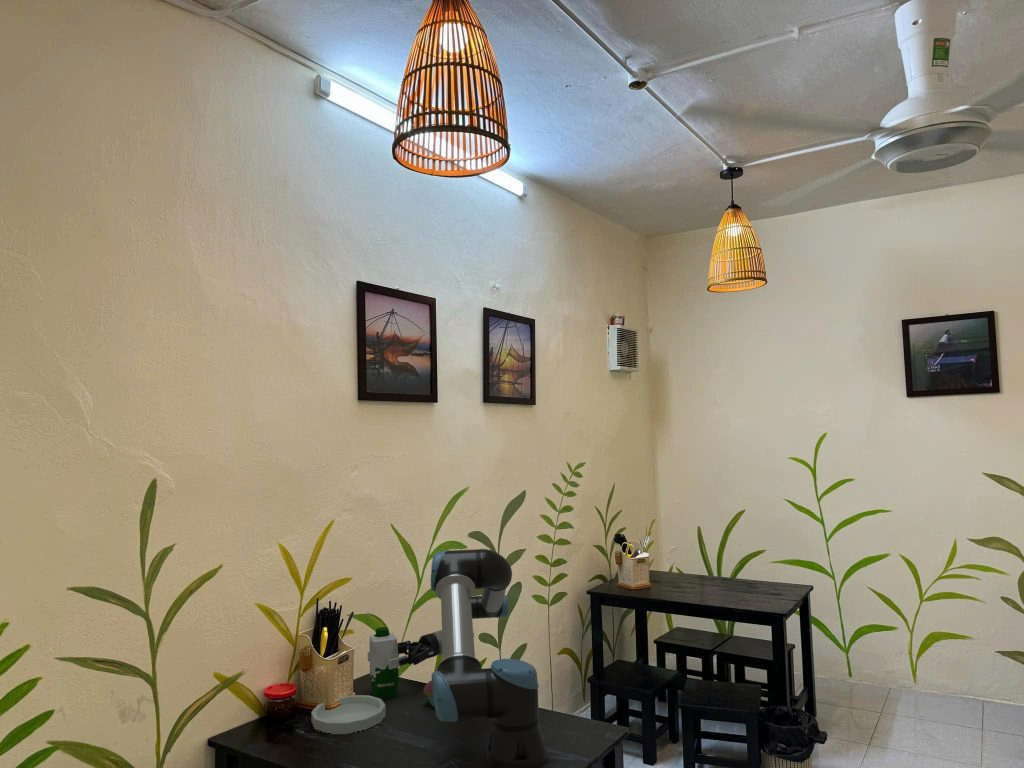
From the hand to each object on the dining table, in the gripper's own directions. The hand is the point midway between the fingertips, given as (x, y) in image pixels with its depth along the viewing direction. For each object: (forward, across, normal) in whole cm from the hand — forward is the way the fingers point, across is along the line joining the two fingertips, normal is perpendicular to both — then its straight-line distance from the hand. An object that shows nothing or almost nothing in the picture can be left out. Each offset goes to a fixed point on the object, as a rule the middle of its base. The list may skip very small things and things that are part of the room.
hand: (378, 660), depth 224 cm
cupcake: (-8, -19, -11) cm, 24 cm away
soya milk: (-2, 0, -11) cm, 11 cm away
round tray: (+16, -8, -11) cm, 21 cm away
